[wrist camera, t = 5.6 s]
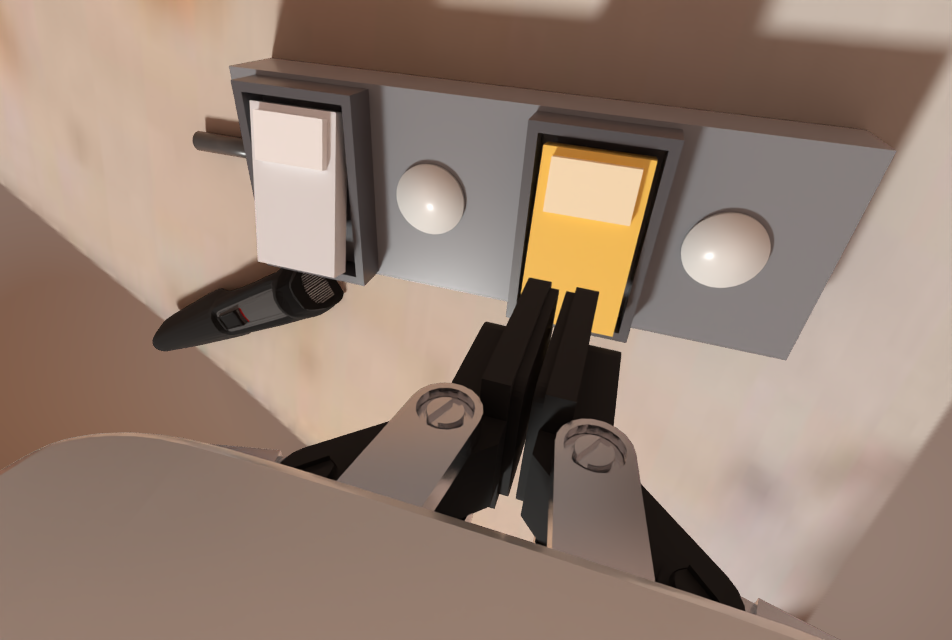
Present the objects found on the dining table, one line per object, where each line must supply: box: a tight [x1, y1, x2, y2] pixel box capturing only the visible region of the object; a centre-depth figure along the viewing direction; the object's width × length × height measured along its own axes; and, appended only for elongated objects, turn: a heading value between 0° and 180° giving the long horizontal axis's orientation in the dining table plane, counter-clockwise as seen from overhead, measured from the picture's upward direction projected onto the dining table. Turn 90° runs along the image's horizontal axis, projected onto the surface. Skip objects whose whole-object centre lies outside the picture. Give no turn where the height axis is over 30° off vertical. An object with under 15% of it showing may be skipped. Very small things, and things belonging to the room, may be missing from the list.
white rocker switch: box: [250, 100, 347, 278], centre depth 22 cm, size 7×4×1 cm, turn 177°
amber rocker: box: [521, 142, 657, 337], centre depth 20 cm, size 7×4×1 cm, turn 176°
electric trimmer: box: [153, 268, 343, 351], centre depth 33 cm, size 4×16×3 cm, turn 115°
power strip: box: [193, 58, 896, 360], centre depth 23 cm, size 9×31×5 cm, turn 87°
